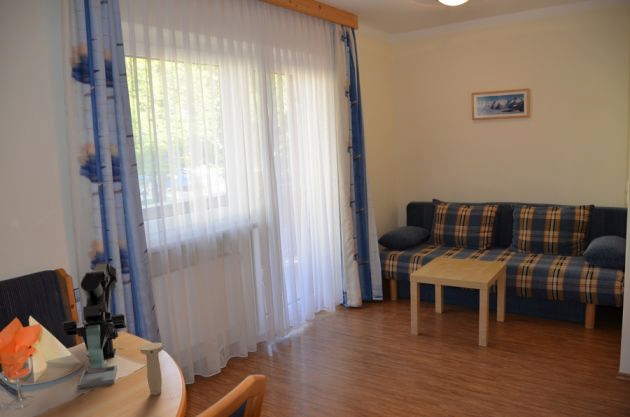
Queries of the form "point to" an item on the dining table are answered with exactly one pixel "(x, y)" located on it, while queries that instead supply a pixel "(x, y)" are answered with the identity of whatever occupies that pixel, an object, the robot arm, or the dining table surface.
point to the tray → (98, 378)
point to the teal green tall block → (95, 349)
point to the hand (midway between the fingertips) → (94, 349)
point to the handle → (153, 366)
